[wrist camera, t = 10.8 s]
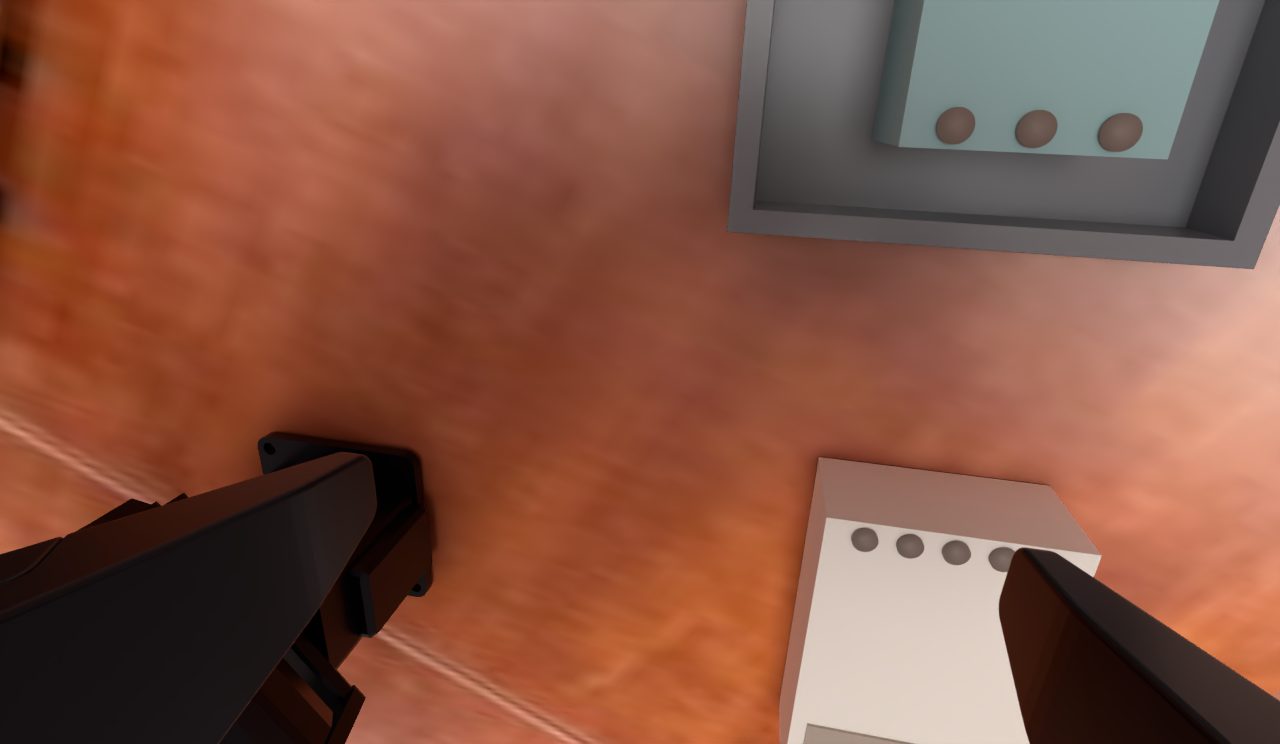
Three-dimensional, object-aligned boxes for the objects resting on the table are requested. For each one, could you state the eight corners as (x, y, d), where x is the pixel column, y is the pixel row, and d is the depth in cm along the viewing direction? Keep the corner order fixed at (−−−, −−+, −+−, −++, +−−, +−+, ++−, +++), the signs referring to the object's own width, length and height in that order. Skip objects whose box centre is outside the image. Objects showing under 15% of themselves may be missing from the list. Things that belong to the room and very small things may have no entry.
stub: (872, 139, 17) (899, 147, 13) (904, -62, 15) (946, -119, 12) (1079, 149, 16) (1172, 160, 12) (1137, -63, 15) (1264, -125, 11)
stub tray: (732, 217, 19) (727, 231, 17) (767, -161, 16) (765, -208, 13) (1189, 248, 17) (1253, 269, 15) (1341, -177, 14) (1454, -234, 11)
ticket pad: (779, 703, 25) (779, 791, 22) (818, 457, 21) (827, 520, 18) (969, 738, 24) (1000, 837, 21) (1050, 485, 20) (1104, 559, 17)
